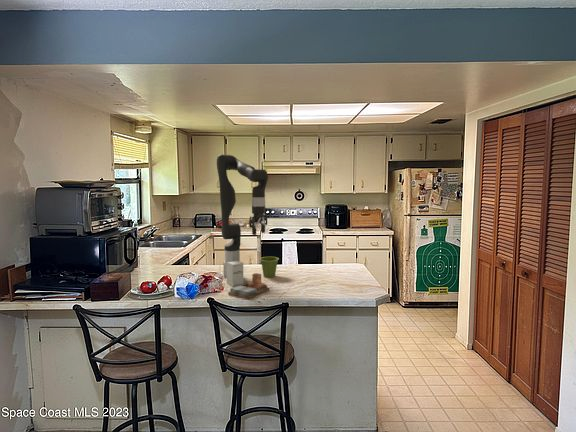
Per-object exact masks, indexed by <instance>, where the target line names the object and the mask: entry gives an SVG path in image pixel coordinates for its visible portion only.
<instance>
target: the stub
mask: <svg viewBox="0 0 576 432" xmlns="http://www.w3.org/2000/svg"><path fill="white" fill-rule="evenodd" d="M251 277H252V279H251V280H252V281H251V280H250V281H249V282H247V283H248V286H249V287H254V288H259V287H261V286H264V285H266V283H265V282H262V274H261V273H257V272H254V273H252V275H251Z"/></svg>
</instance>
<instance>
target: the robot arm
mask: <svg viewBox="0 0 576 432" xmlns="http://www.w3.org/2000/svg"><path fill="white" fill-rule="evenodd" d="M216 169H217V175H218V184H219V200H220V211H221V212H220V213H221V226H220V227H221V235H222V236H221V237H222V239H223V240H231V241H230V242H229V243H227V244H225V245H224V262H223V263H222V265H223V278H225V279H227V262H234V261H239V262H241V257H240V255H241V252H240V251H241V248H240V247H241V235H242V229H241V226H240V224H239V223H230V215H231V213H232V211H233V209H234V208H235V205H236V200H237V199H236V190H235V188H234V187H233V184H232V183H231V181H230V180H229V178H228V174H227V171H237V172H238V173H239V175H240V176H242V177H245V178H247V179H248V180H249V181H250V182H251V183H257V185H255V186H253V187H252V191H251V197H252V198H251V214H253V215H252V216H249V228H251V232H252V233H251V234H252V236H256V235H257V226H258V225H260V232H261V234H265V233H266V226H267V225H268V214H266V198H265V197H266V187H267V183H268V180H269V179H268V178H269V175H268V172H267V171H266V170H265V169H263V168H260V169H259V168H258V169H256V168H255V167H253V166H252V165H250V164H248V163H245V162H243V161H241V160H240V159H238V158H237V157H236V156H234V155H231V154H218V156H217V158H216Z"/></svg>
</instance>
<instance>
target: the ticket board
mask: <svg viewBox="0 0 576 432" xmlns="http://www.w3.org/2000/svg"><path fill="white" fill-rule="evenodd" d="M269 291H270V287H268V286H267V284H265V285H264V286H261V287H259V288H254V287H249V286H248V282H246V283H243V284H240V285H235V286H232V287H230V291H228V292H227V295H228V296H232V297H236V298H242V299H247V300H251V299H254V298H256V297H258V296H261V295H263V294H264V293H267V292H269Z"/></svg>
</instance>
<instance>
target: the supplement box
mask: <svg viewBox="0 0 576 432" xmlns="http://www.w3.org/2000/svg"><path fill="white" fill-rule="evenodd" d="M226 284H228V285H229V286H232V287H235V286H238V285H243V284H244V262H242V261H240V262H239V261H234V262H227V278H226Z"/></svg>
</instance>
